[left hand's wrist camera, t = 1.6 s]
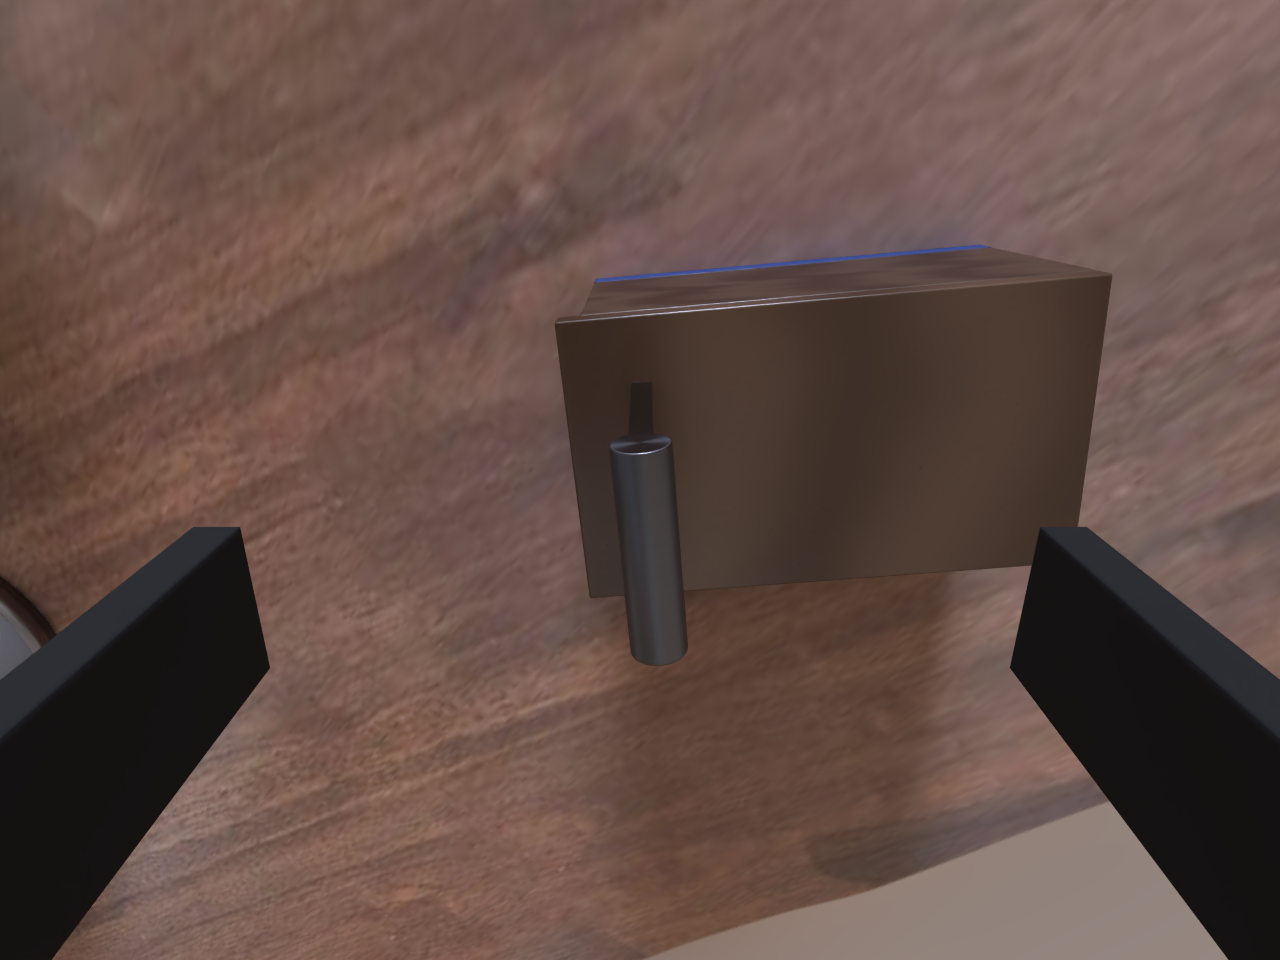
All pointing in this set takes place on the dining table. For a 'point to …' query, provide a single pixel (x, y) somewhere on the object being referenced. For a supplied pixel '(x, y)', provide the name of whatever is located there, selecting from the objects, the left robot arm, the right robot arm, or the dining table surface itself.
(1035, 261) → the chest
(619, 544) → the lid
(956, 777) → the dining table surface
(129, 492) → the dining table surface
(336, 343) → the dining table surface
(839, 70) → the dining table surface
